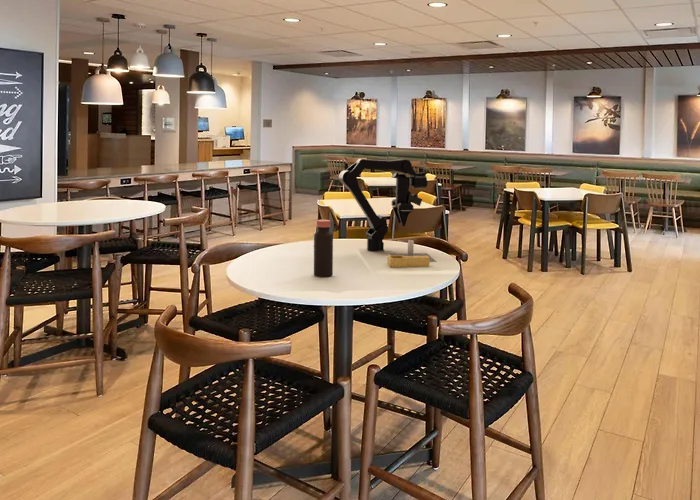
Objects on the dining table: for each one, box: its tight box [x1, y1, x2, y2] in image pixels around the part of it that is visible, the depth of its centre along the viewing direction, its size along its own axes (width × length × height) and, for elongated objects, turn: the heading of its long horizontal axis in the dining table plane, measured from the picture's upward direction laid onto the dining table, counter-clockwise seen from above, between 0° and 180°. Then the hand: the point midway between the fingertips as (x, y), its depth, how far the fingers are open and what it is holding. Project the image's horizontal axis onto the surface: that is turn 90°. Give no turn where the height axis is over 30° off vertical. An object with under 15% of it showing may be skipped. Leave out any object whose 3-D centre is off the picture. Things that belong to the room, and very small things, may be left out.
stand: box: [389, 239, 438, 263], centre depth 250 cm, size 16×18×8 cm
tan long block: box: [386, 254, 431, 268], centre depth 235 cm, size 15×6×4 cm, turn 96°
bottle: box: [313, 219, 334, 278], centre depth 220 cm, size 7×7×20 cm
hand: (401, 224), depth 266 cm, fingers open, 9 cm apart
